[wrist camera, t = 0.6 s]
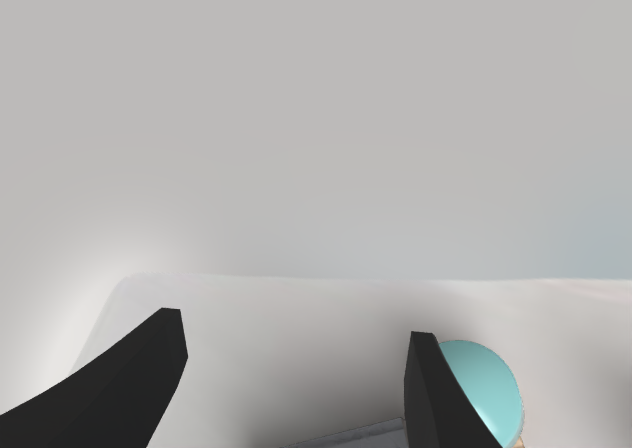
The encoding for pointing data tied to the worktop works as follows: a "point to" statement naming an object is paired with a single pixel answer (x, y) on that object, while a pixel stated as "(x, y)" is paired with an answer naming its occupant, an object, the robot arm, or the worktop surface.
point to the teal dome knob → (488, 388)
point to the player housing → (364, 437)
